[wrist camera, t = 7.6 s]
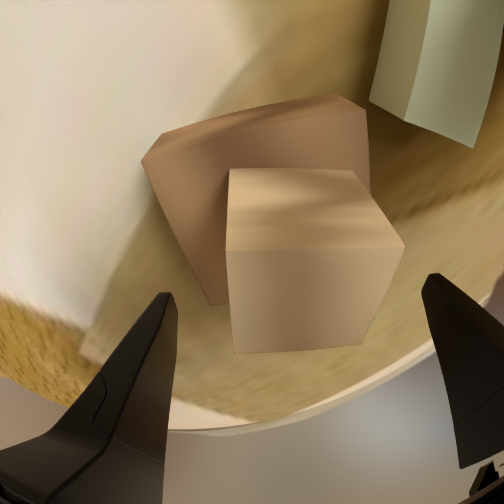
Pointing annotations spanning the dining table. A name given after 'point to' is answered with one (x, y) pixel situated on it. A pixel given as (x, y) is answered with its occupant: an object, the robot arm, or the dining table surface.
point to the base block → (246, 156)
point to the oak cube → (305, 259)
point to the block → (439, 64)
